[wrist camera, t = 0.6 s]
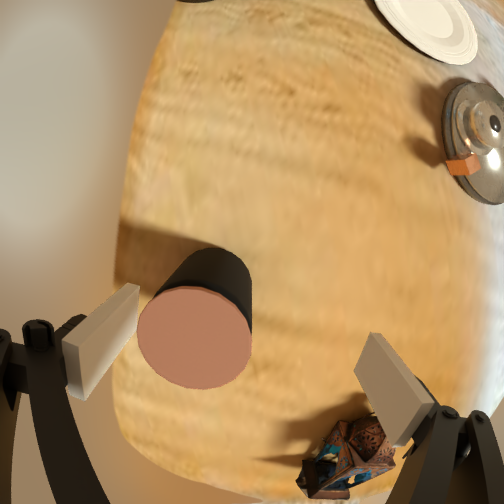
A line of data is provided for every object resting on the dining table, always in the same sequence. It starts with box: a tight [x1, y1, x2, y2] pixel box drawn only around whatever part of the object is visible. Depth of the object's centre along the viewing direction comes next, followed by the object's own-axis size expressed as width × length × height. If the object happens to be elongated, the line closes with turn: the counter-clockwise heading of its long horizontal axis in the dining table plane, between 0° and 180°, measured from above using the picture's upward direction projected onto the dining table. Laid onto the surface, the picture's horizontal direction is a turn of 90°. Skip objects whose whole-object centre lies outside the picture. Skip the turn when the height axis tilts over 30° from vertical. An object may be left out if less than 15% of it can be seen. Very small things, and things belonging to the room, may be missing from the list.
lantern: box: [296, 412, 396, 500], centre depth 44 cm, size 16×16×25 cm
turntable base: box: [442, 82, 504, 205], centre depth 33 cm, size 25×23×8 cm
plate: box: [374, 0, 478, 65], centre depth 31 cm, size 25×25×2 cm
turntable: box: [446, 83, 504, 203], centre depth 33 cm, size 25×22×6 cm
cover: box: [455, 100, 504, 156], centre depth 31 cm, size 10×10×6 cm
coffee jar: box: [137, 248, 252, 390], centre depth 33 cm, size 11×11×18 cm
